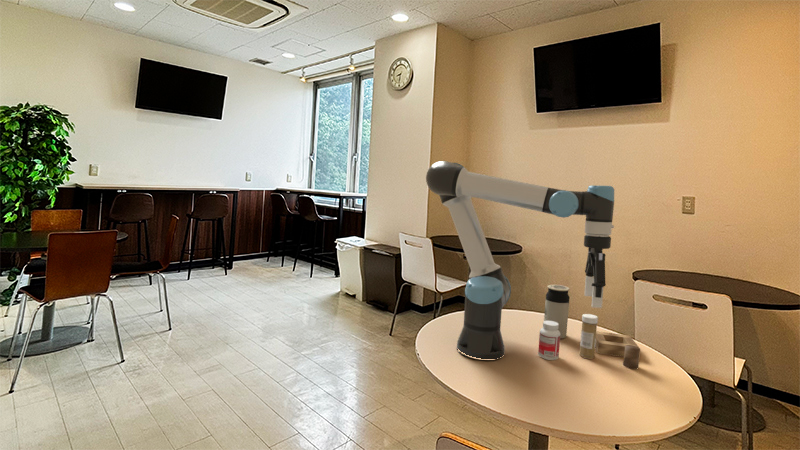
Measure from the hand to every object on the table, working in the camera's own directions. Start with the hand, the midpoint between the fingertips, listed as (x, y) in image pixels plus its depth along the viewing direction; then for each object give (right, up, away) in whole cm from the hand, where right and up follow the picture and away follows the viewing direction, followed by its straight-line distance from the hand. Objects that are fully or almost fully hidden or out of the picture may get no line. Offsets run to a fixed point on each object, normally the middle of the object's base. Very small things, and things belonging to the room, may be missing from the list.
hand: (592, 301), depth 127 cm
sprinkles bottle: (-1, -18, +2) cm, 18 cm away
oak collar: (+11, -18, +9) cm, 23 cm away
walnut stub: (+10, -19, -4) cm, 22 cm away
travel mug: (-5, -16, +20) cm, 26 cm away
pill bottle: (-14, -18, 0) cm, 23 cm away
